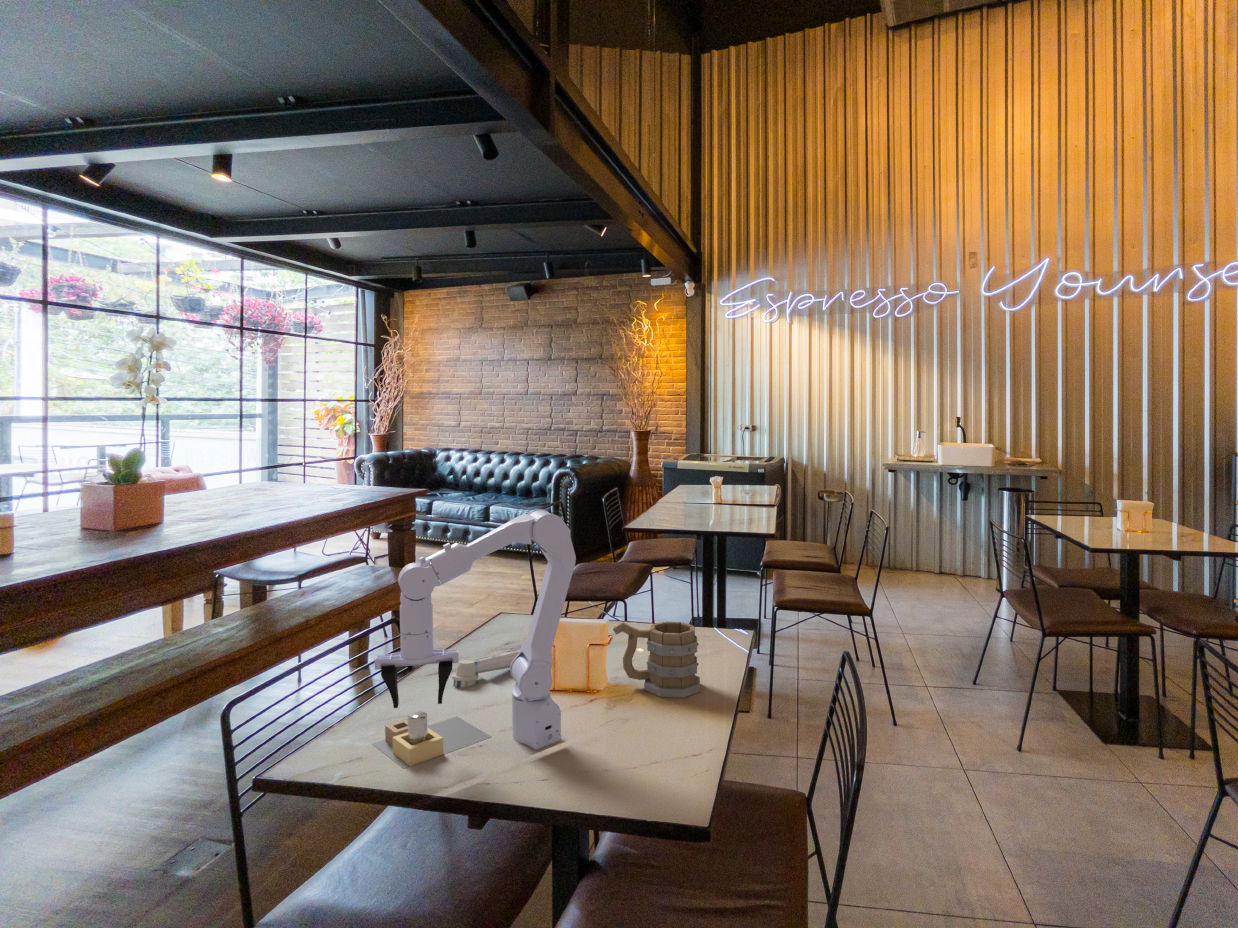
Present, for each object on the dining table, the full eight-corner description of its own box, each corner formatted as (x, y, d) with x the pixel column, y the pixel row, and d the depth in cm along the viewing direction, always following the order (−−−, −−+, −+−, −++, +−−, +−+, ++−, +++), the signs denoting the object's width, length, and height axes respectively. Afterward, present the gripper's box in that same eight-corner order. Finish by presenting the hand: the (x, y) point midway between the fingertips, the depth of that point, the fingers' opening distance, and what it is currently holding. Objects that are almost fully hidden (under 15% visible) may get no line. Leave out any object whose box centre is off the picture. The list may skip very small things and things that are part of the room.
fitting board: (492, 740, 134) (491, 721, 134) (403, 772, 122) (403, 751, 121) (457, 719, 143) (456, 701, 143) (371, 747, 131) (371, 728, 131)
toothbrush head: (541, 648, 177) (463, 661, 158) (538, 675, 177) (461, 691, 157) (526, 644, 181) (449, 656, 161) (524, 670, 180) (446, 685, 161)
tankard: (699, 678, 167) (699, 616, 166) (700, 698, 154) (700, 632, 153) (616, 675, 169) (616, 614, 168) (610, 695, 156) (610, 629, 155)
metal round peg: (431, 753, 127) (430, 715, 127) (413, 759, 125) (412, 720, 124) (423, 746, 130) (422, 709, 129) (405, 752, 127) (404, 714, 127)
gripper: (457, 621, 132) (458, 691, 133) (376, 626, 128) (378, 699, 129) (458, 632, 125) (459, 706, 126) (372, 638, 122) (374, 714, 122)
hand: (418, 703), depth 127 cm, fingers open, 7 cm apart
